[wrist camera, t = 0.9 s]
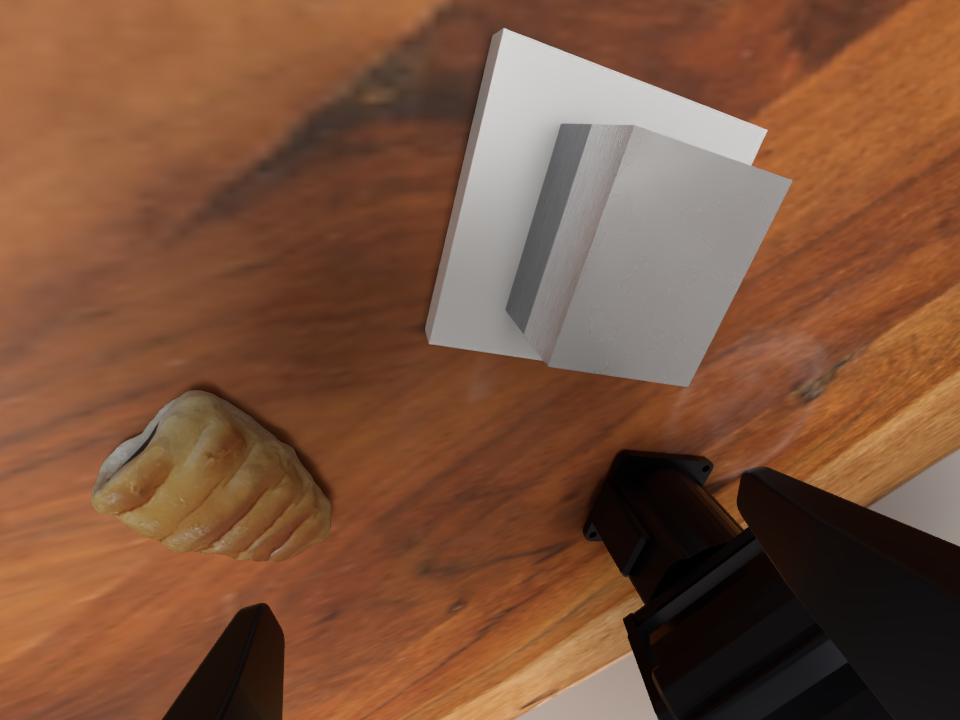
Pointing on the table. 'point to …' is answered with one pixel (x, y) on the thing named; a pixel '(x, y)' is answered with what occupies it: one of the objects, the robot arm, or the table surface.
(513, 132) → the stand
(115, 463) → the pastry
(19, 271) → the table surface
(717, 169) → the block
